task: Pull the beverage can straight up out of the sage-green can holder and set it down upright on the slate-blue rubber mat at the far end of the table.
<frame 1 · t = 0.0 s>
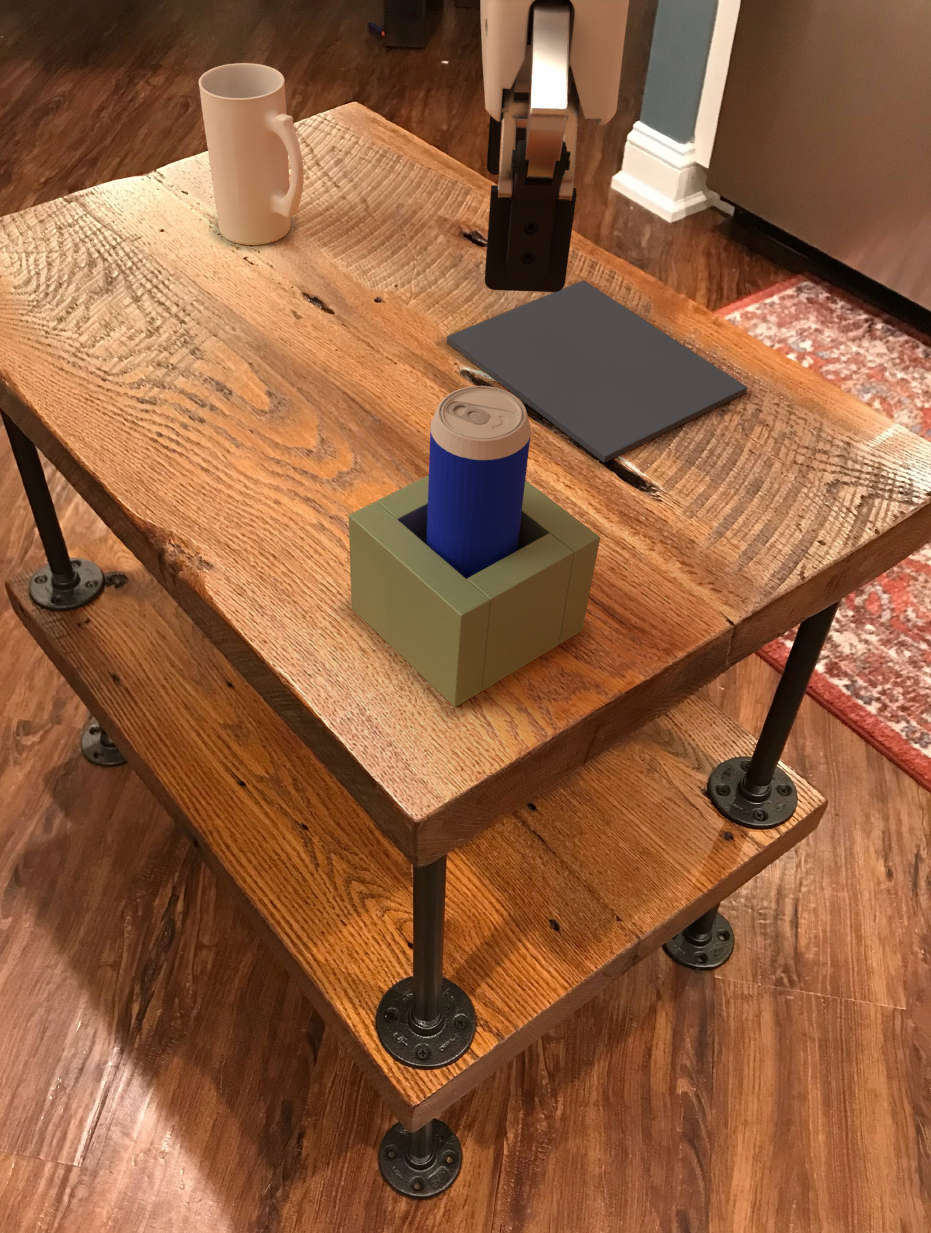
hand: (522, 226, 49), 25 cm above the table, tool pointing down, fingers open, 9 cm apart
mat: (592, 367, 86), on the table
beverage can: (465, 621, 70), resting in can holder
mug: (267, 236, 99), on the table
can holder: (466, 619, 70), on the table
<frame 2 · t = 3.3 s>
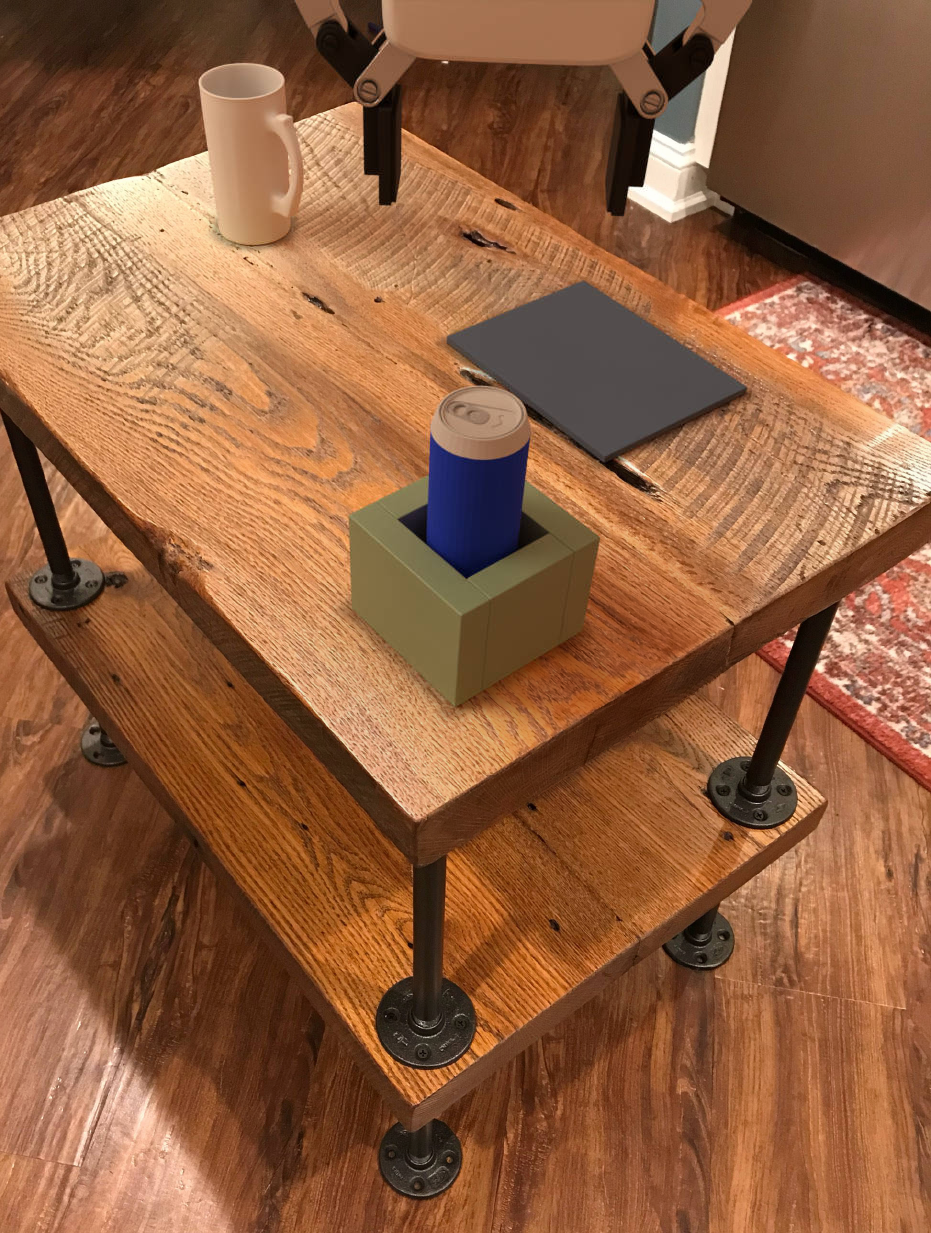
hand: (501, 195, 49), 26 cm above the table, tool pointing down, fingers open, 9 cm apart
nothing on the table moved.
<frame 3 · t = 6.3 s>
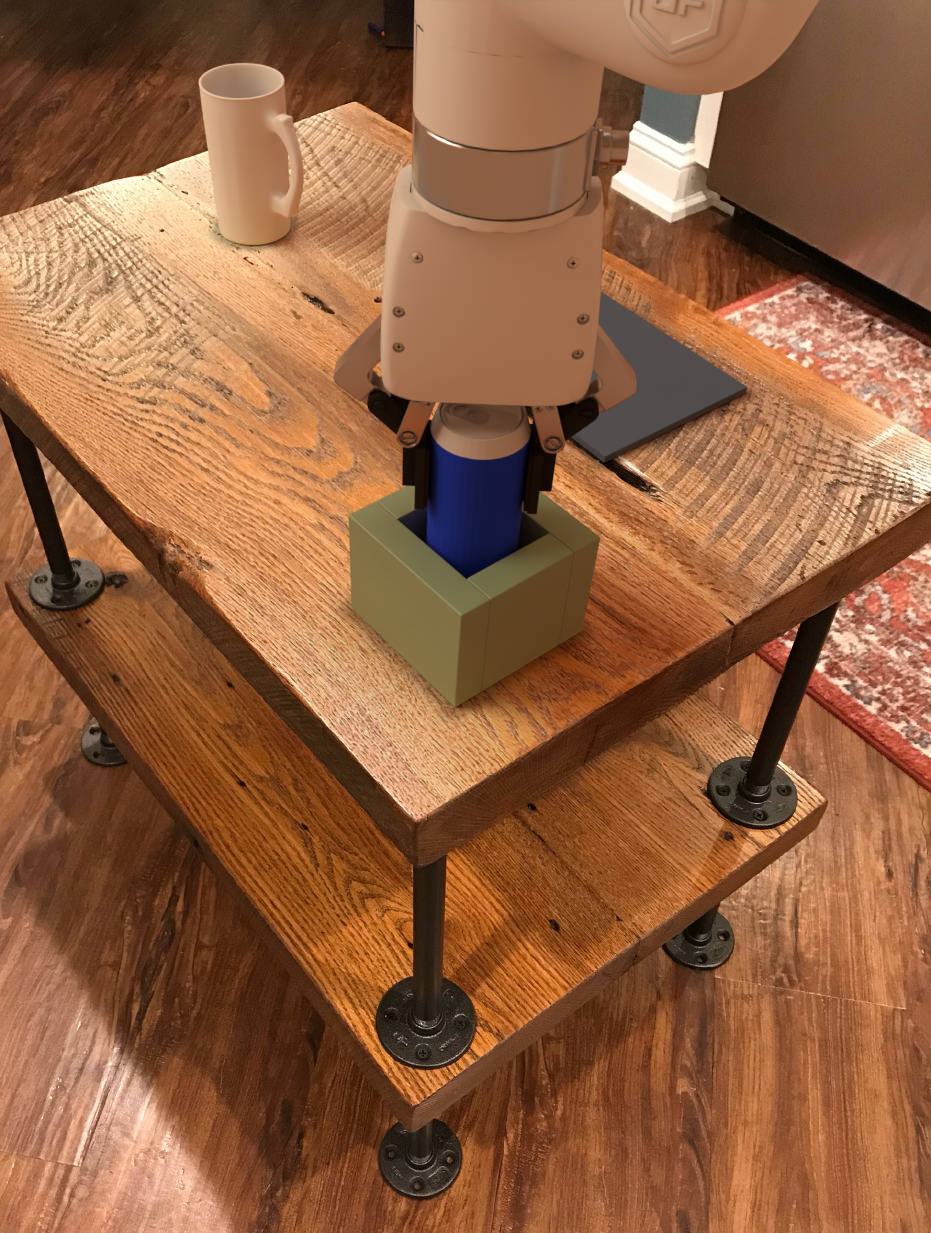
hand: (475, 492, 62), 10 cm above the table, tool pointing down, fingers closed on beverage can, 5 cm apart
beverage can: (465, 621, 70), resting in can holder, touching gripper
everything else where it was.
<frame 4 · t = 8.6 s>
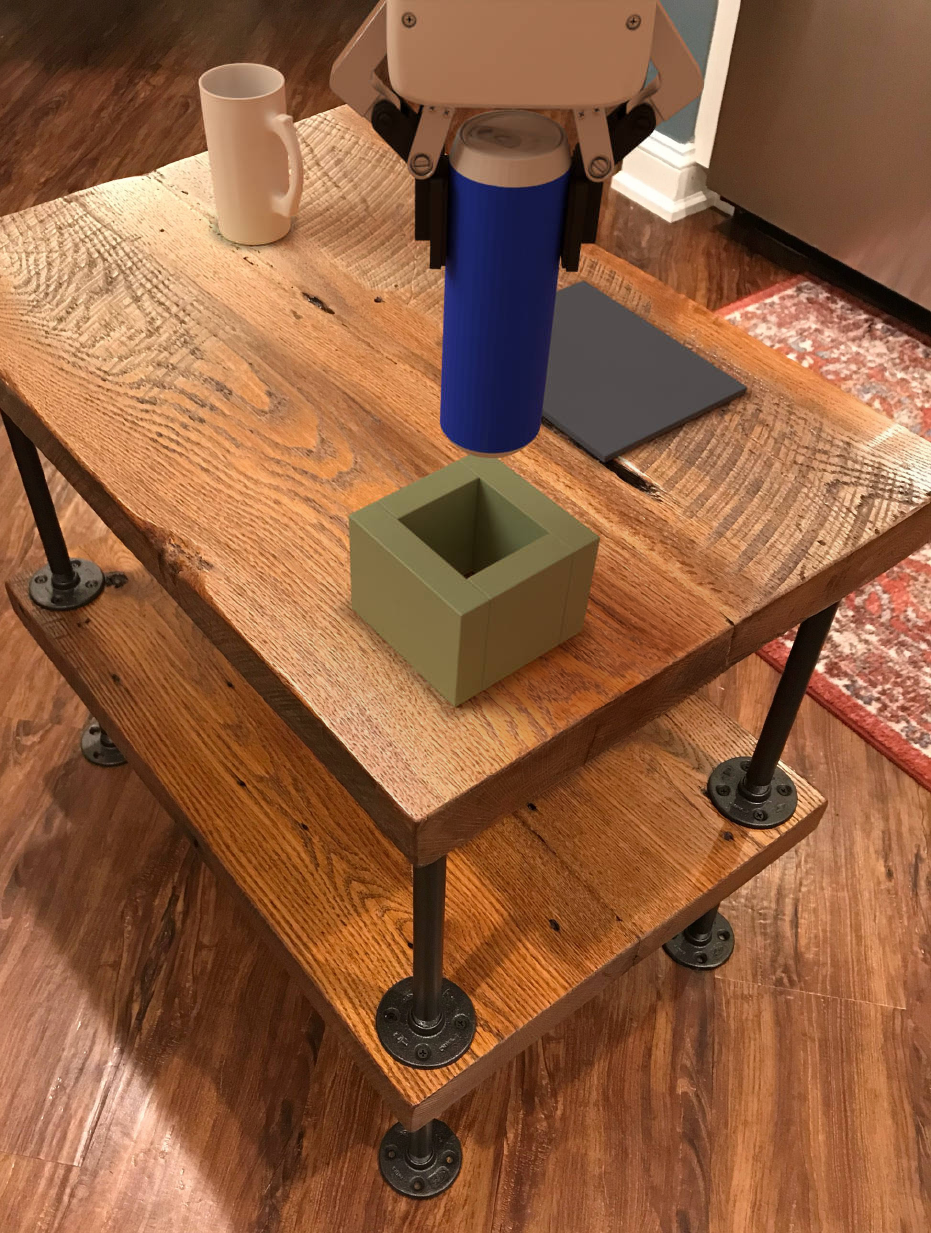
hand: (503, 251, 51), 24 cm above the table, tool pointing down, fingers closed on beverage can, 5 cm apart
beverage can: (489, 434, 59), point 14 cm above the table, touching gripper
everything else where it was.
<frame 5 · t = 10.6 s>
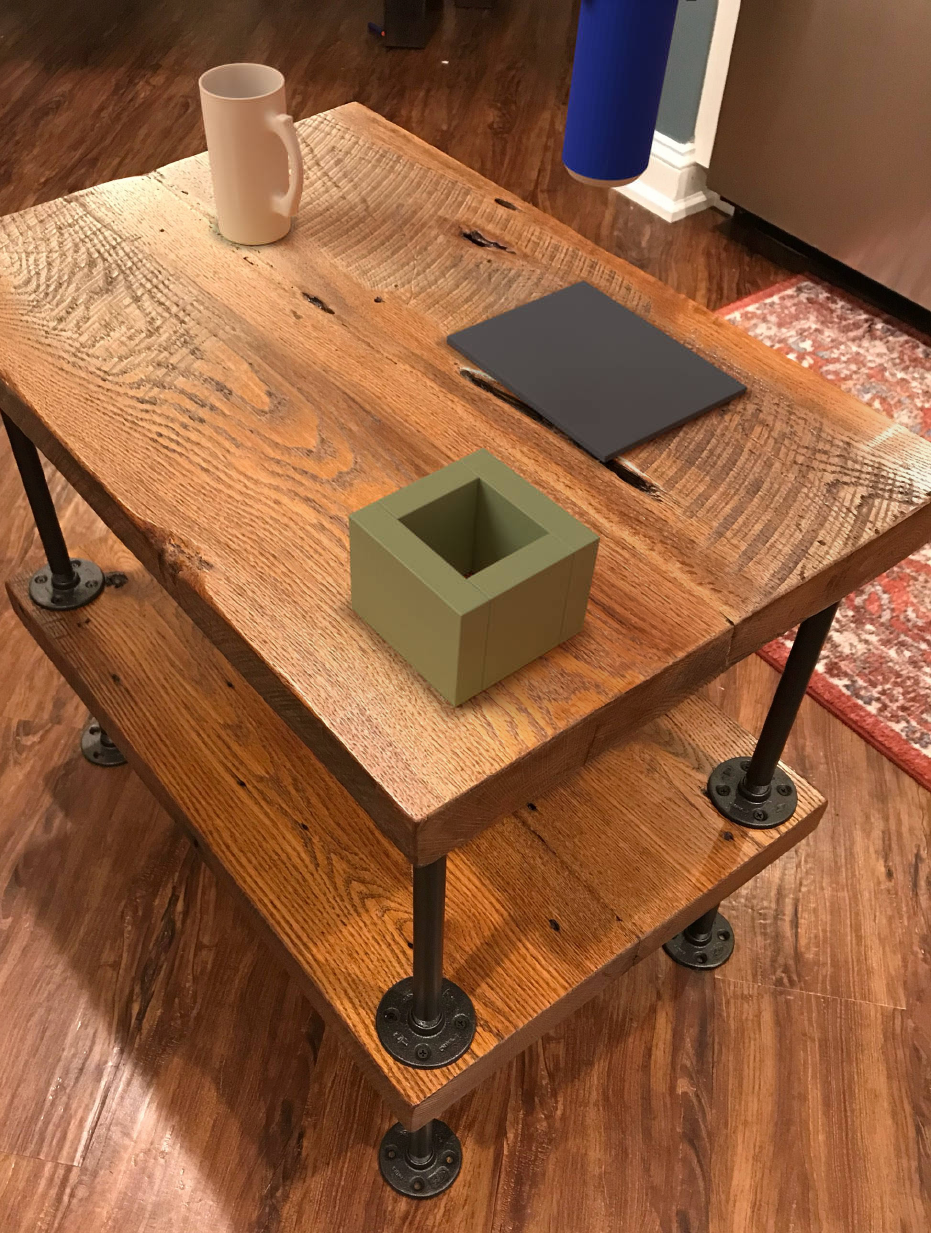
beverage can: (603, 173, 69), point 17 cm above the table, touching gripper
everything else where it was.
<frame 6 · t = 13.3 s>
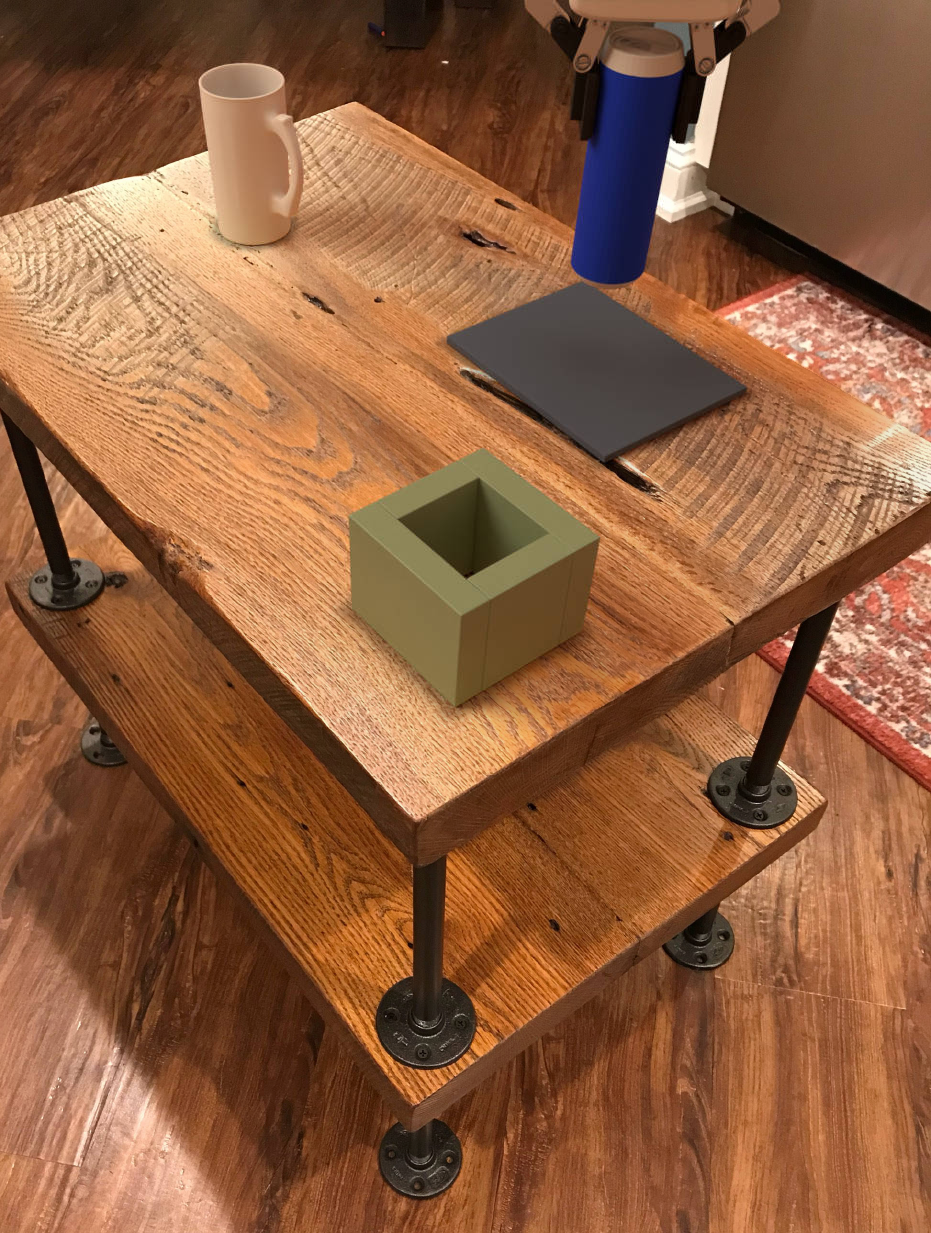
hand: (630, 129, 73), 17 cm above the table, tool pointing down, fingers closed on beverage can, 5 cm apart
beverage can: (605, 275, 81), point 7 cm above the table, touching gripper
everything else where it was.
when the fingers open (10 cm above the table, at t = 15.3 s): beverage can stays where it is, resting on mat.
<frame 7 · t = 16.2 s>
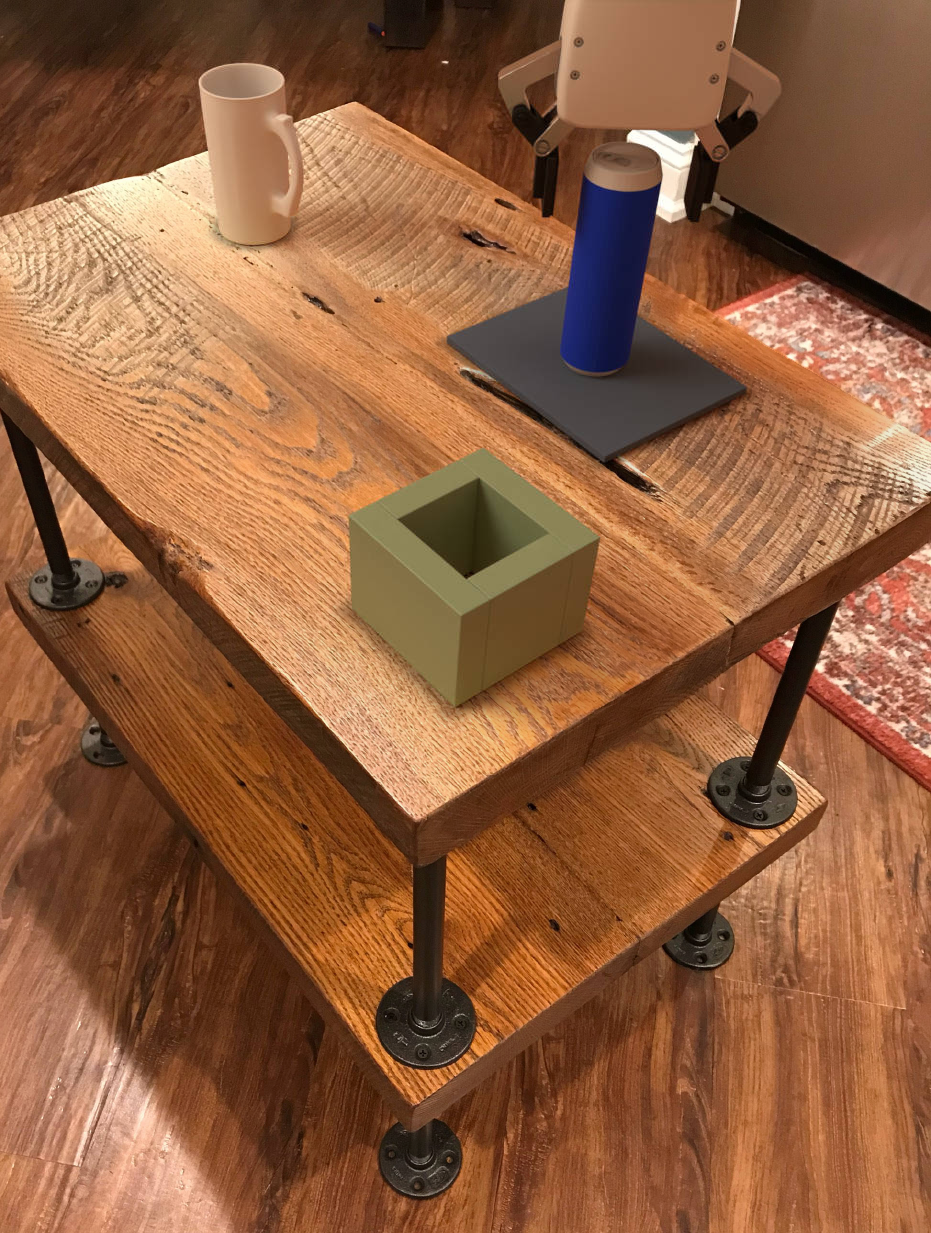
hand: (618, 210, 77), 12 cm above the table, tool pointing down, fingers open, 9 cm apart
beverage can: (593, 362, 86), resting on mat
everything else where it was.
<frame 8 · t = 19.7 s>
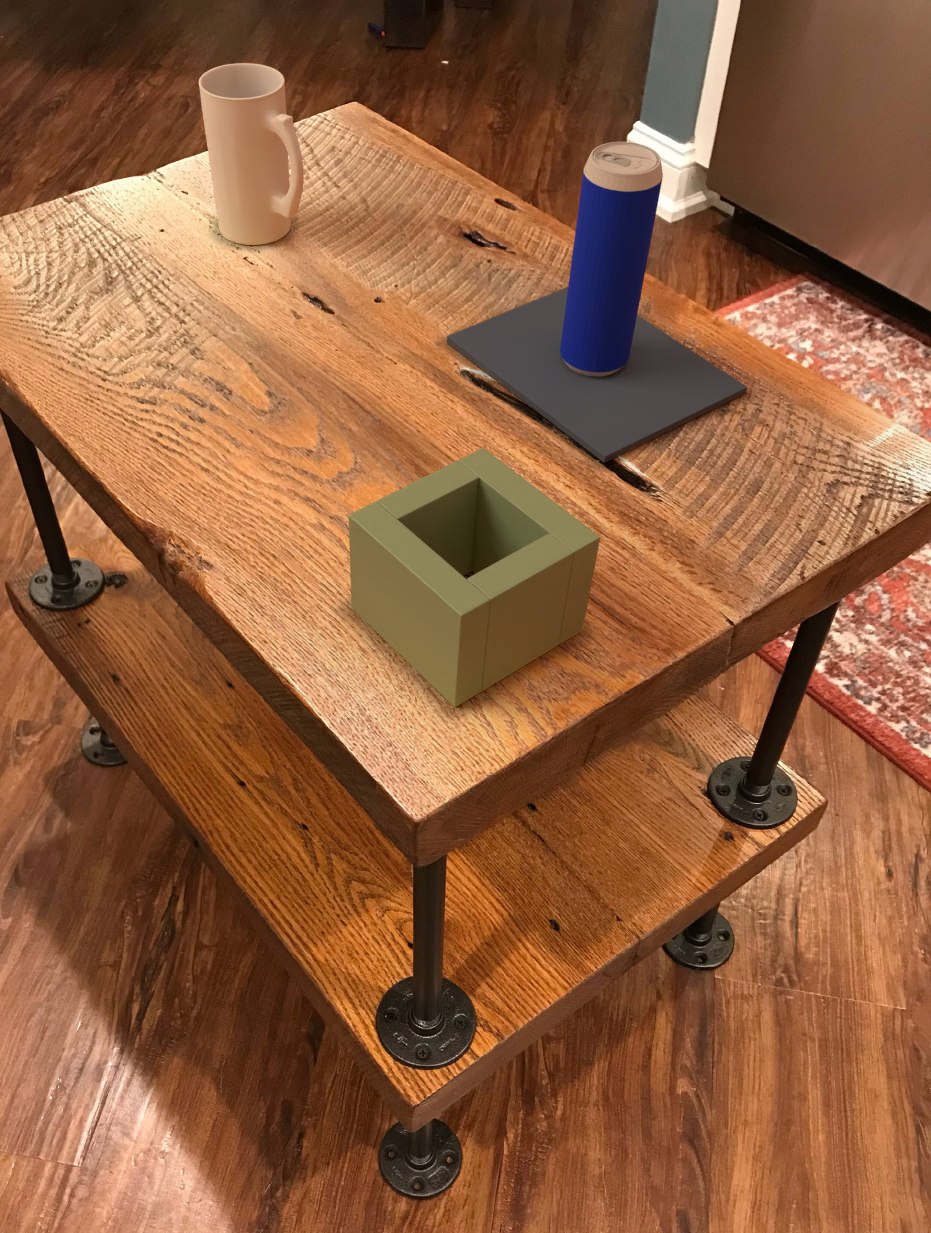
nothing on the table moved.
at the end: beverage can inside the target area on the mat (0.1 cm from its centre), point 0.4 cm above the mat's base; beverage can tilted 0°; beverage can moved 28.5 cm from its start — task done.
